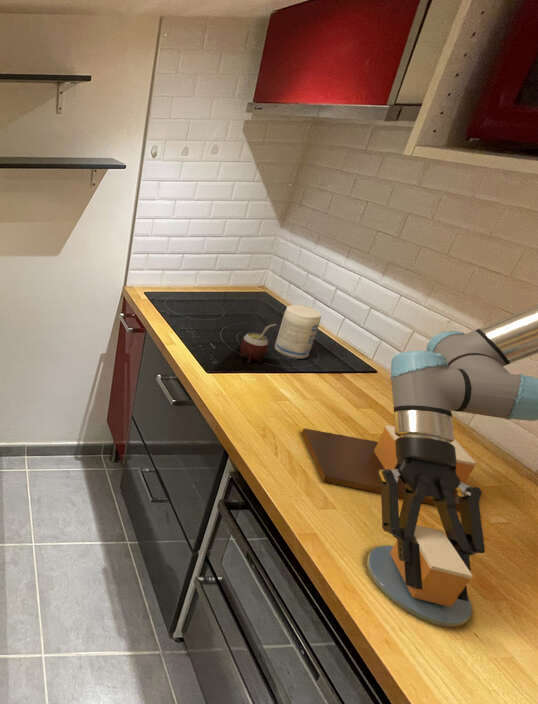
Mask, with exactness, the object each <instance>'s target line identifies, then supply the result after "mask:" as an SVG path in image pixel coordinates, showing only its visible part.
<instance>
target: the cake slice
mask: <svg viewBox="0 0 538 704" xmlns="http://www.w3.org/2000/svg"><path fill="white" fill-rule="evenodd" d="M411 542H413V543H418V544H419V549H420V563H421V577H422V590H421V589H417V588H414V587H411V586H408V585H407V587H408V589H409V591H410V593H411V595H412V597H413V598H417V599H421V600H425V601H429V602H432V603H436V604H440V605H444V606H448V607H452V605H453V604H454V602H455V601H456V599H457V598H458V596H459V595H460V594H461V592H462V591H463V589H464V588H465V586H466V585H467V586H468V584H469V582H470V581H471V579H472V578H473V577H474V575H473V574H472V571H471V572H470V571H469V569H468V568H467V566H466V565H465V563H464V562H463V560H462V559H461V557H460V556H459V554H458V553H457V551H456V550H455V549H454V547H453V546H452V544H451V543H450V541H449V540H448V538H447V535H446V533H445V531H444V530H439V529H436V528H432V527H426V526H422V525H418V524H416V528H415V532H414V537H413V540H412V541H411ZM392 546H393V548H392V550H391V552H390V555H391V556H392V558H393V560H394V562H395V564H396V566H397V568H398V570H399V572H400V574H401V576H402V578H403V580H404V581H405V583H406V580H405V564H404V561H400V560H399V557H398V544H397V540H396V541H395V543H394V545H392Z"/></svg>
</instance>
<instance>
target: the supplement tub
mask: <svg viewBox="0 0 538 704" xmlns="http://www.w3.org/2000/svg"><path fill="white" fill-rule="evenodd" d="M321 319H322V313H321V312H320V311H319V310H317V309H315V308H312V307H310V306H307V305H306V306H305V305H299V304H290V305H288V306H286V309H285V311H284V313H283V316H282V320H281V323H280V326H279V330H278V335H277V337H276V340H275V344H274V349H275V350H276V351H277V352H278V353H279V354H281V355H283V356H285V357H287V358H292V359H299V360H301V359H302V360H303V359H306V358H308V357H309V356H310V352H311V349H312V347H313V345H314V341H315V338H316V335H317V331H318V328H319V326H320V324H321V323H320V322H321Z"/></svg>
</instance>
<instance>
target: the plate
mask: <svg viewBox="0 0 538 704" xmlns="http://www.w3.org/2000/svg"><path fill="white" fill-rule="evenodd" d="M393 546H394V545H379V546H376V547H374V548H373V549H372V550H371V551H370V553H369V554H368V556H367V559H366V566H367V570H368V573H369V575H370V577H371V578H372V580H373V582H374V583H375V584H376V586H377V587H378V588H379V589H380V590H381V592H383V593H384V595H385V596H387V597H388V598H389V600H391V601H392V602H394V603H395V604H396V605H397V606H399V607H400V608H401V609H403V610H404V611H406V612H408V614H411V615H413V616H414V617H416V618H418V619H421V620H423V621H425V622H427V623H431V624H433V625H437V626H441V627H448V628H454V627H460V626H463V625H465V624H466V623H467V622H468V621H469V619H470V618H471V616H472V612H473V607H472V604H471V603H472V602H471V600H470V598H469V597H468V601H464V600H460V599H456V601H455V602H454V604H453V605H452V607H448V606H444V605H440V604H436V603H432V602H429V601H425V600H421V599H417V598H413V597H412V595H411V593H410V591H409V589H408V587H407V585H406V583H405V581H404V580H403V578H402V576H401V574H400V572H399V570H398V568H397V566H396V564H395V562H394V560H393V558H392V556H391V555H390V552H391V550H392V548H393Z"/></svg>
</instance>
